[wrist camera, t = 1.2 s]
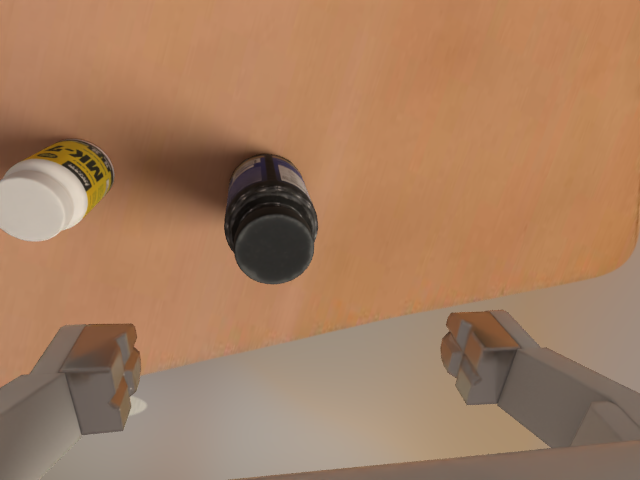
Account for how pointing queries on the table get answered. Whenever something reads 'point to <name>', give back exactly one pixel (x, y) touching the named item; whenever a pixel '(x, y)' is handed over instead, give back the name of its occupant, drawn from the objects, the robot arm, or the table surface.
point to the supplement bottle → (53, 189)
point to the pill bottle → (270, 219)
